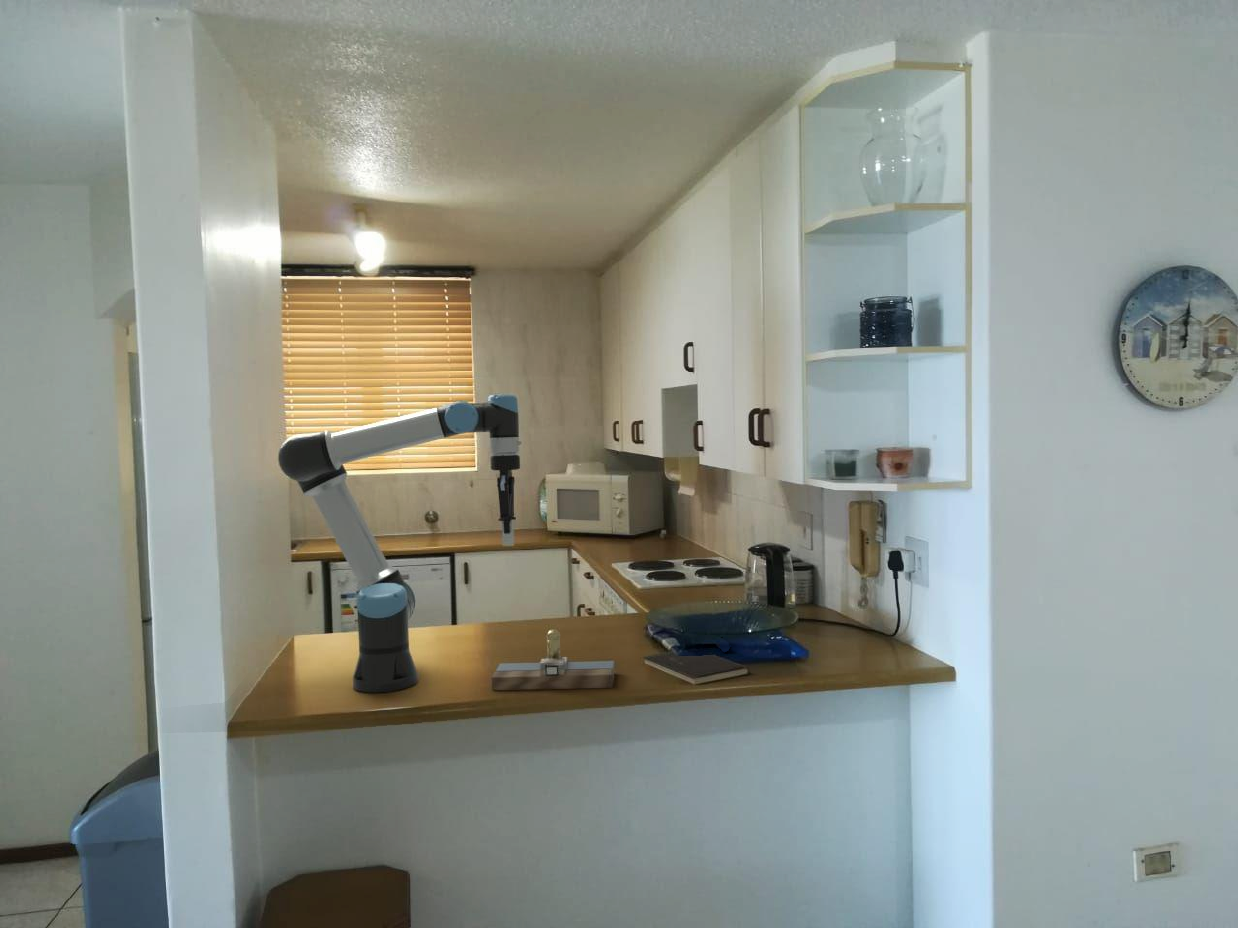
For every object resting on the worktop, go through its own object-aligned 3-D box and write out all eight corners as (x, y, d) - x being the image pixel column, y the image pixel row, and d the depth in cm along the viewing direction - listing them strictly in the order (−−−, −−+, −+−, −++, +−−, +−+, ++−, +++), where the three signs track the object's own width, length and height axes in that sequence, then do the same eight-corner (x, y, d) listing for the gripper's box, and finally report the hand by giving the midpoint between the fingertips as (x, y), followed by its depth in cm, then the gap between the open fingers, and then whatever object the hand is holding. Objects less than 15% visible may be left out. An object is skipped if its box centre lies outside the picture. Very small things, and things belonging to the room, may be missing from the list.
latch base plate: (496, 683, 210) (495, 665, 210) (500, 675, 217) (499, 658, 217) (613, 680, 210) (612, 663, 209) (614, 672, 216) (613, 656, 216)
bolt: (545, 674, 205) (543, 635, 204) (548, 666, 212) (547, 628, 212) (558, 674, 205) (557, 634, 204) (561, 665, 212) (560, 627, 211)
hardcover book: (693, 687, 204) (693, 677, 204) (643, 665, 225) (642, 656, 224) (749, 675, 212) (748, 666, 212) (695, 655, 232) (695, 647, 232)
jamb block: (492, 690, 205) (491, 664, 205) (495, 683, 210) (494, 658, 210) (612, 687, 204) (611, 661, 204) (613, 681, 209) (612, 656, 209)
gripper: (515, 455, 221) (519, 548, 222) (522, 453, 234) (526, 541, 235) (486, 455, 221) (489, 549, 222) (494, 454, 234) (498, 542, 235)
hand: (508, 545), depth 229 cm, fingers closed
